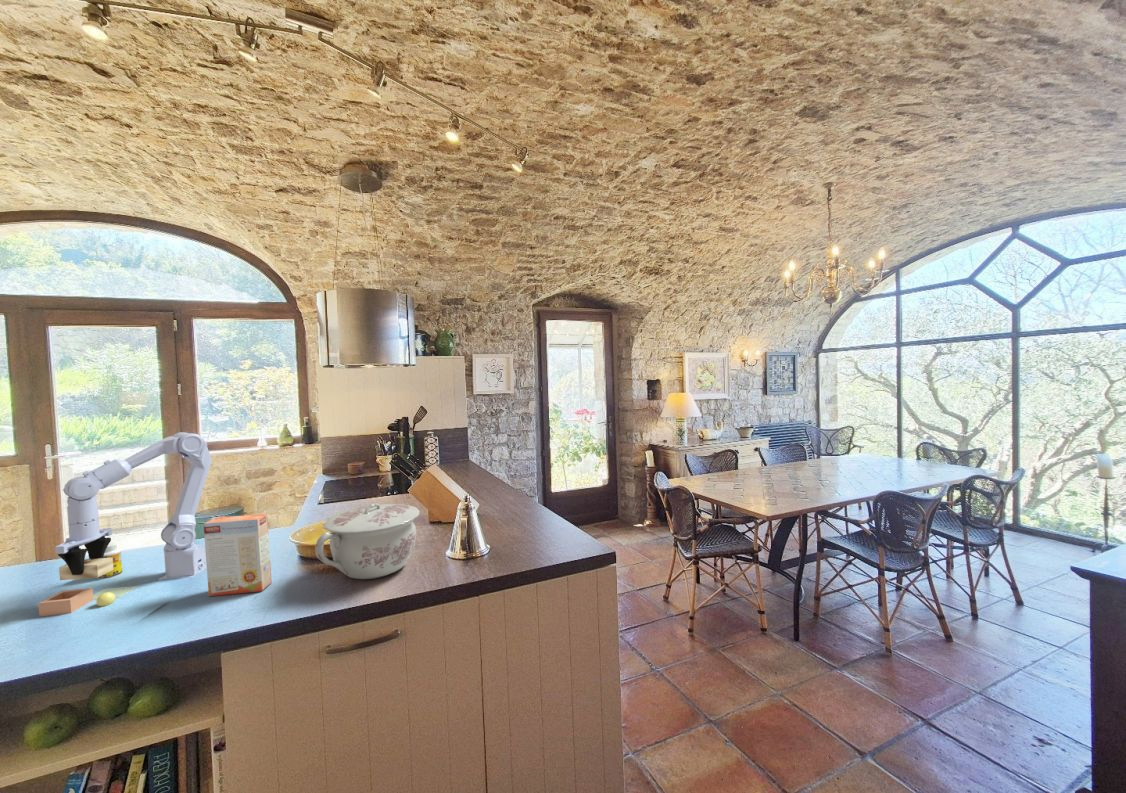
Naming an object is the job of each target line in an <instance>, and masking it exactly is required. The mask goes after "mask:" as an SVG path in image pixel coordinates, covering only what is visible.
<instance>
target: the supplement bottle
mask: <svg viewBox="0 0 1126 793" xmlns="http://www.w3.org/2000/svg"><path fill="white" fill-rule="evenodd" d="M112 557H113V569H114V570H112V571H110V572H108V573H106V574H104V575H102V576H100V577H98V578H97V580H106V579H110V578H115V577H118V576H119V575H122V574H123V562H122V559H123V558H122V549H121V548H119V547H118V542H110V543H109V544H108V546H107V548H106V550H105V553H104V556H103V558H112Z"/></svg>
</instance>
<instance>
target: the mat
mask: <svg viewBox="0 0 1126 793" xmlns="http://www.w3.org/2000/svg"><path fill="white" fill-rule="evenodd" d="M138 587H139V585H132V586H122V587H111V588H110V587H109V588H103V589H101V590H100V591H97V592H96V593H93V597H94V600H95V601H97V598H98V597H99V596H100V595H101V594H103V593H106V592H111V593H113V594H114V595H115V599H118V598H122V597H123V596H125V595H126V594H127V593H129V592H131V591H133V590H134V589H137V588H138ZM94 600H93V601H94Z"/></svg>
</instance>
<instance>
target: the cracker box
mask: <svg viewBox="0 0 1126 793" xmlns="http://www.w3.org/2000/svg"><path fill="white" fill-rule="evenodd" d="M268 523H269V522H268V514H267V513H260V514H259V513H258V514H248V515H247V514H246V515H233V516H219V517H214V518H212V519H210V520H208V521H206V522H204V523H203V532H204V533H203V535H204V548H205V553H206V566H207V568H206V574H207V575H206V578H207V589H208V597H214V596H225V595H236V594H245V593H259V592H263V591H264V590H265V589H267V587H269V586H270V585H271V584H272V583H273V582H272V567H271V565H272V564H271V554H270V553H271V552H270V538H269V525H268Z"/></svg>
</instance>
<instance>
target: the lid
mask: <svg viewBox="0 0 1126 793" xmlns="http://www.w3.org/2000/svg"><path fill="white" fill-rule="evenodd" d="M112 570H114V569H113V557H112V558H98V559H89V558H85V559H84V572H83V574H81V575H72V573H71V571H70V569H69V567H68V565H67V564H66V563H65V564H64V565H61V566H59V567H58V572H59V574H58V575H59V581H68V580H81V579H95V578H97V579H98V577H100V576H102V575H104V574H106V573H108V572H110V571H112Z"/></svg>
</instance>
